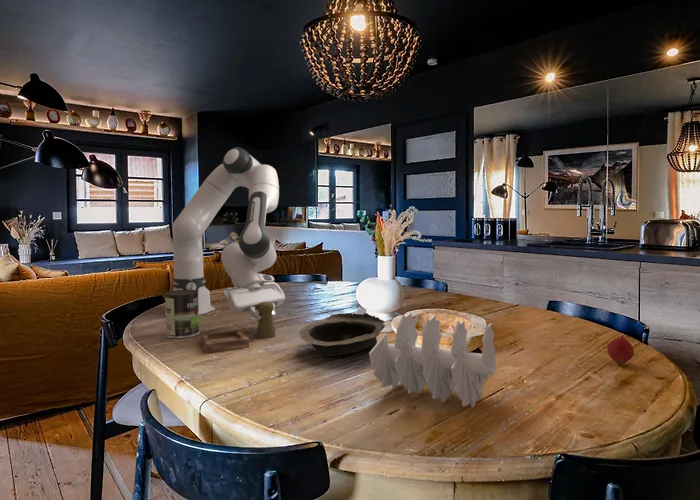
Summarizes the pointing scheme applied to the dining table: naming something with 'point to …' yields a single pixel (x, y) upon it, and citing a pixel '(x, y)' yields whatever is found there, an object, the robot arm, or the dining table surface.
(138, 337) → the dining table surface
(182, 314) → the coffee can
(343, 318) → the stone bowl
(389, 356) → the spiral staircase
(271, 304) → the cork
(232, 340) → the walnut socket block
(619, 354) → the onion
